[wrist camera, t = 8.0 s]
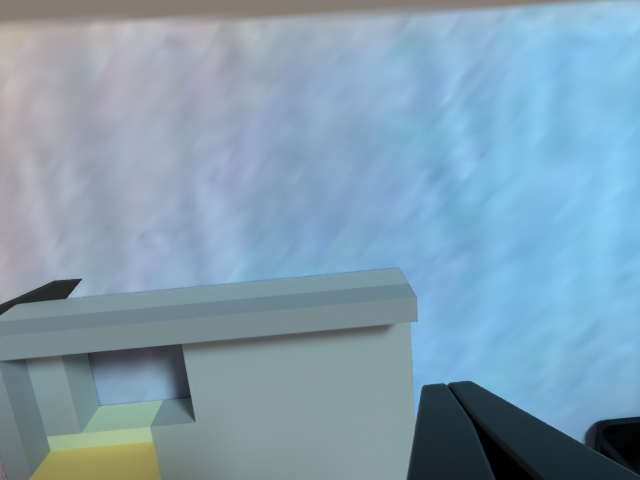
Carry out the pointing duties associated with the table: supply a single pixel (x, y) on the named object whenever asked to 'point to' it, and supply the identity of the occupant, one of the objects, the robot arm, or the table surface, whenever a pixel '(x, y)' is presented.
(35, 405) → the tray
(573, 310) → the table surface
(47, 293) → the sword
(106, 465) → the block
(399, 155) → the table surface
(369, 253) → the table surface
